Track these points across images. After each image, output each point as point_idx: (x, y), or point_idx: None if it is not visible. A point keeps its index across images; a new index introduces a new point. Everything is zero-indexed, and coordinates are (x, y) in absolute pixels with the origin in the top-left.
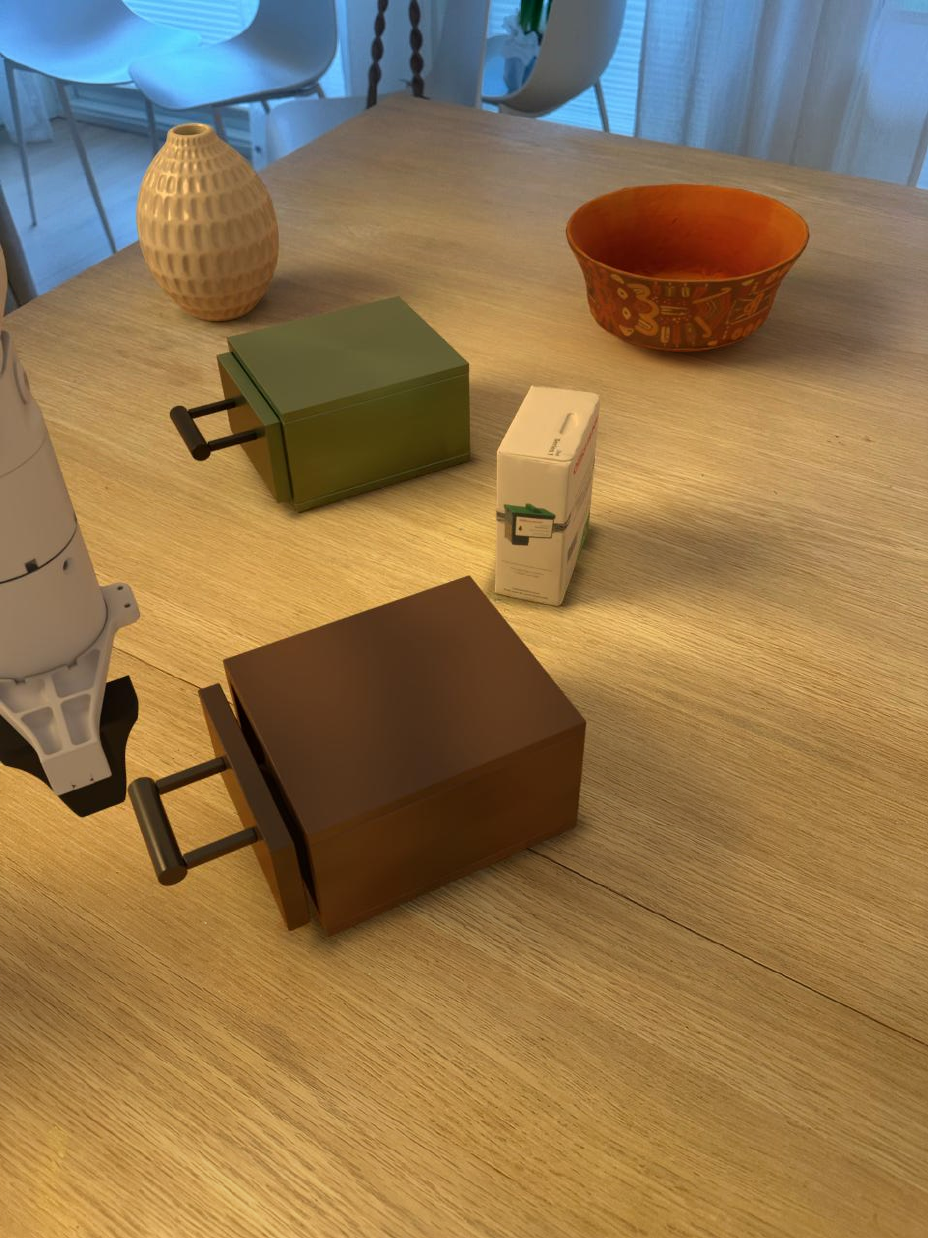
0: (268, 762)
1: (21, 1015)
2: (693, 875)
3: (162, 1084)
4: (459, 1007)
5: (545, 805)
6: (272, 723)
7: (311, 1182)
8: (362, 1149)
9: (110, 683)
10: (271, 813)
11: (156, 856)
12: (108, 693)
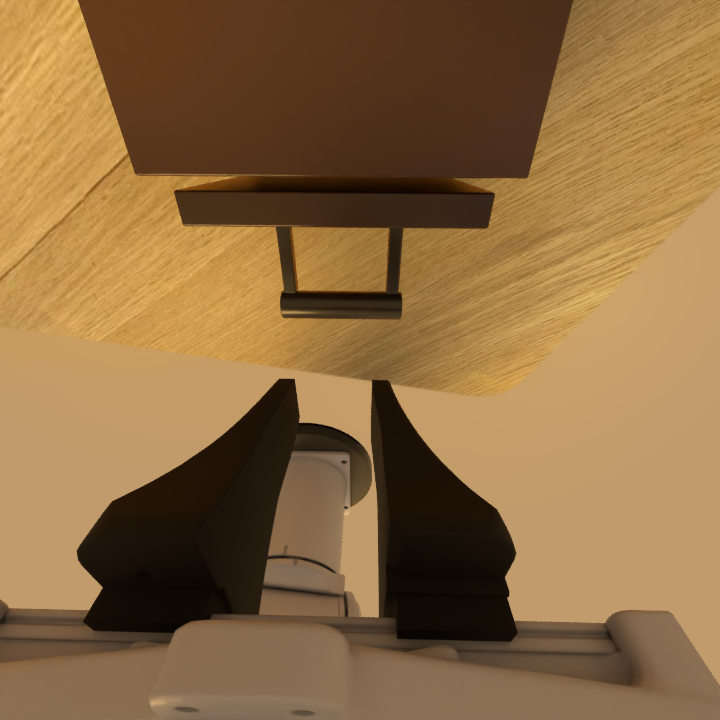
0: None
1: (391, 379)
2: None
3: (485, 321)
4: (612, 61)
5: None
6: (302, 145)
7: (614, 257)
8: (629, 215)
9: (409, 554)
10: (436, 205)
11: (380, 317)
12: (434, 560)
